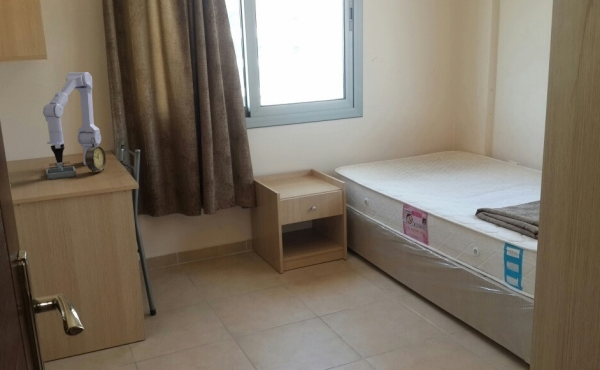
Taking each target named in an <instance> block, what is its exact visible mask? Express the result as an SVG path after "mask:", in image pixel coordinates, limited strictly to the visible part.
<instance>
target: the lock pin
mask: <svg viewBox="0 0 600 370" xmlns="http://www.w3.org/2000/svg"><path fill="white" fill-rule="evenodd" d="M55 161H56V160H55ZM62 162H63V161H62ZM62 162H61V163H57V161H56V162H55V163H57V169H58V171H63V164H62Z"/></svg>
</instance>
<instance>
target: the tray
mask: <svg viewBox="0 0 600 370" xmlns="http://www.w3.org/2000/svg"><path fill="white" fill-rule="evenodd" d="M45 171H46V179H47V181H48V180H57V179H66V178H67V179H68V178H74V177H75V178H76V177H77V172H76V168H75V166H74V165H73V166H70V167H63V171H58V169H57V168H54V169H50V168H46V169H45Z"/></svg>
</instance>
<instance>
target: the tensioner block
mask: <svg viewBox="0 0 600 370" xmlns="http://www.w3.org/2000/svg"><path fill="white" fill-rule="evenodd" d="M62 164H63V167H71V163H70V161H69V160H67V161H62ZM54 168H57V162H49V163H48V169H54Z"/></svg>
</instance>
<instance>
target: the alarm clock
mask: <svg viewBox="0 0 600 370" xmlns="http://www.w3.org/2000/svg"><path fill="white" fill-rule="evenodd" d="M92 138H93V137H92ZM92 138H91V140H92ZM93 139H94V138H93ZM94 143H95V140H94ZM94 143H92V142H91V144H92V147H89V148H88V149H87V151H86V154H85V161H86V165H85V166H86V167H87V168H88V169H89V170H90V171H91V172H92V174H93V175H95V173H96V171H99V172H100V171H102V170H103V171H104V168H105V166H106V162H107V161H106V160H107V158H106V152H105V149H104V148H103V147H102V146H99V145H98V146H94Z"/></svg>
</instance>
